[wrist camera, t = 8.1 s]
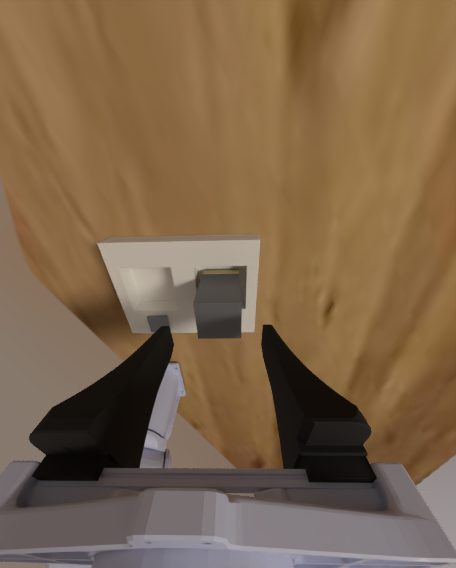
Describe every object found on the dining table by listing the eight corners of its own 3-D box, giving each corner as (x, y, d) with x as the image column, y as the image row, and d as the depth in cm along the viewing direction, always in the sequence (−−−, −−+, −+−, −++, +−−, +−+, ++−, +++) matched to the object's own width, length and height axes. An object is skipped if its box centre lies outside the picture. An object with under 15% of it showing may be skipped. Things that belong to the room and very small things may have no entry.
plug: (238, 297, 22) (241, 338, 16) (206, 297, 22) (197, 338, 16) (238, 267, 20) (242, 302, 14) (203, 268, 20) (192, 302, 14)
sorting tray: (252, 319, 24) (254, 334, 22) (141, 320, 25) (130, 335, 22) (256, 233, 19) (260, 240, 16) (112, 236, 19) (94, 244, 16)
